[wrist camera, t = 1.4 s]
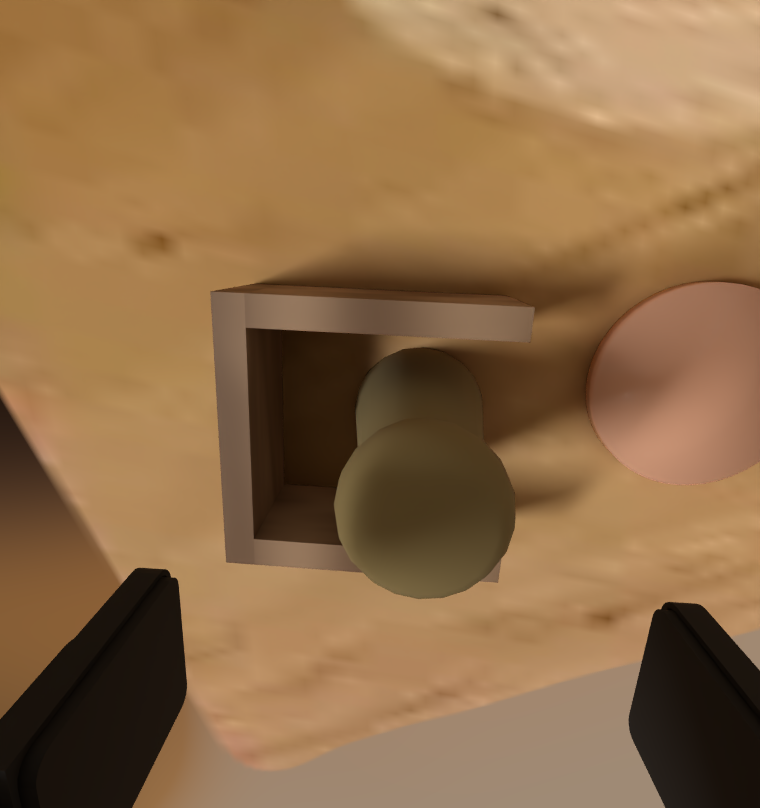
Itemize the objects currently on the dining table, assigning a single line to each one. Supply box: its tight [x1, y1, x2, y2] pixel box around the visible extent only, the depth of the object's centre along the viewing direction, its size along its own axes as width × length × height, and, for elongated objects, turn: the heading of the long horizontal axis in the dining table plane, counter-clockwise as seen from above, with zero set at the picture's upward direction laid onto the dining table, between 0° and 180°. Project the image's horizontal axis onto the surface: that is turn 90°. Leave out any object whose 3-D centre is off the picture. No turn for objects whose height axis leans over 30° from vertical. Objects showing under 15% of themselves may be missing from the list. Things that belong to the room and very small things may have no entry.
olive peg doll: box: [334, 348, 515, 599], centre depth 18 cm, size 6×6×11 cm
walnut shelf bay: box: [211, 284, 535, 583], centre depth 21 cm, size 11×11×5 cm
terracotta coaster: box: [586, 281, 760, 485], centre depth 21 cm, size 9×9×1 cm
